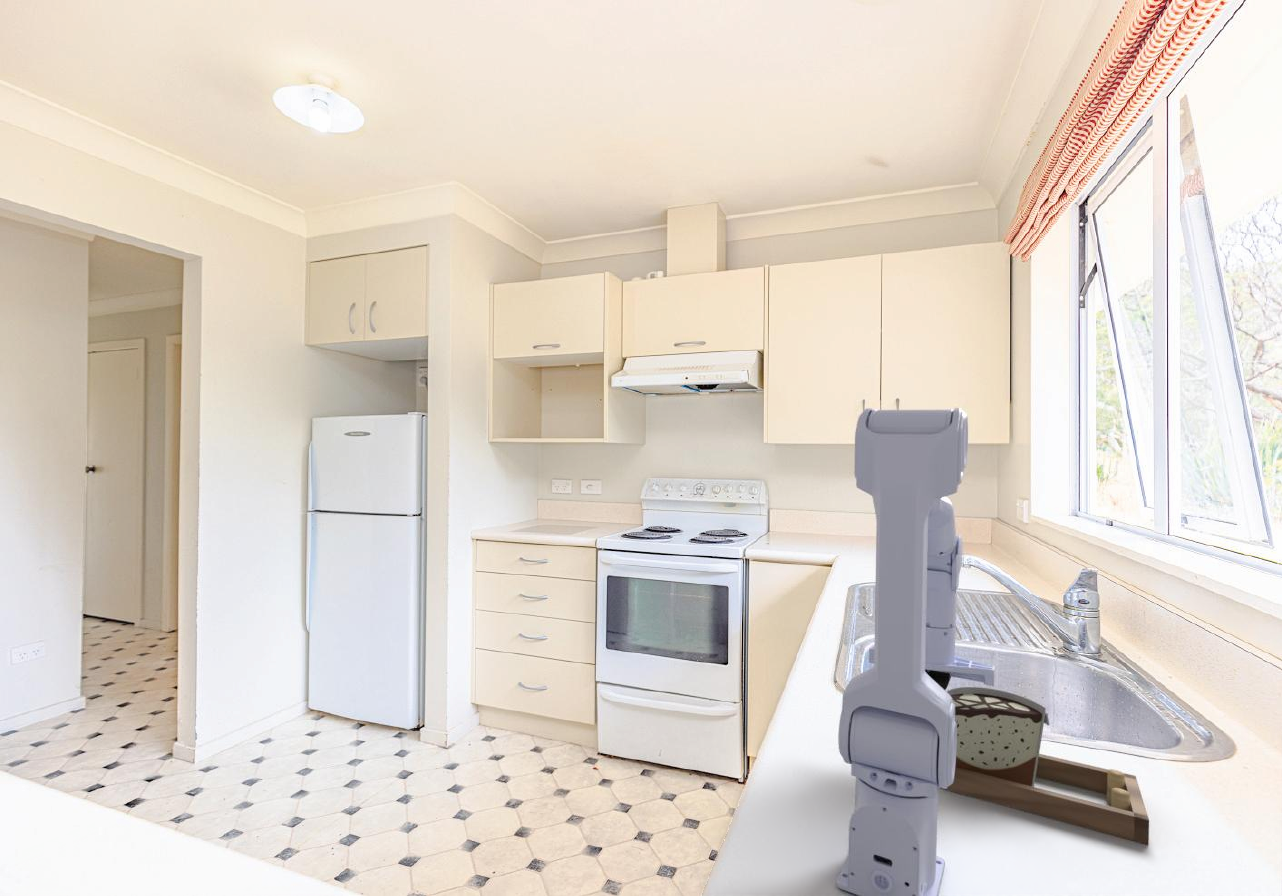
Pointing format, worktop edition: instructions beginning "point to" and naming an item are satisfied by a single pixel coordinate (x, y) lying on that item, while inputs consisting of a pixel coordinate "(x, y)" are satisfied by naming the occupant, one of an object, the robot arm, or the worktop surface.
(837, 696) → the worktop surface
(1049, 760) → the rail frame
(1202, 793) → the worktop surface
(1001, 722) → the food container
